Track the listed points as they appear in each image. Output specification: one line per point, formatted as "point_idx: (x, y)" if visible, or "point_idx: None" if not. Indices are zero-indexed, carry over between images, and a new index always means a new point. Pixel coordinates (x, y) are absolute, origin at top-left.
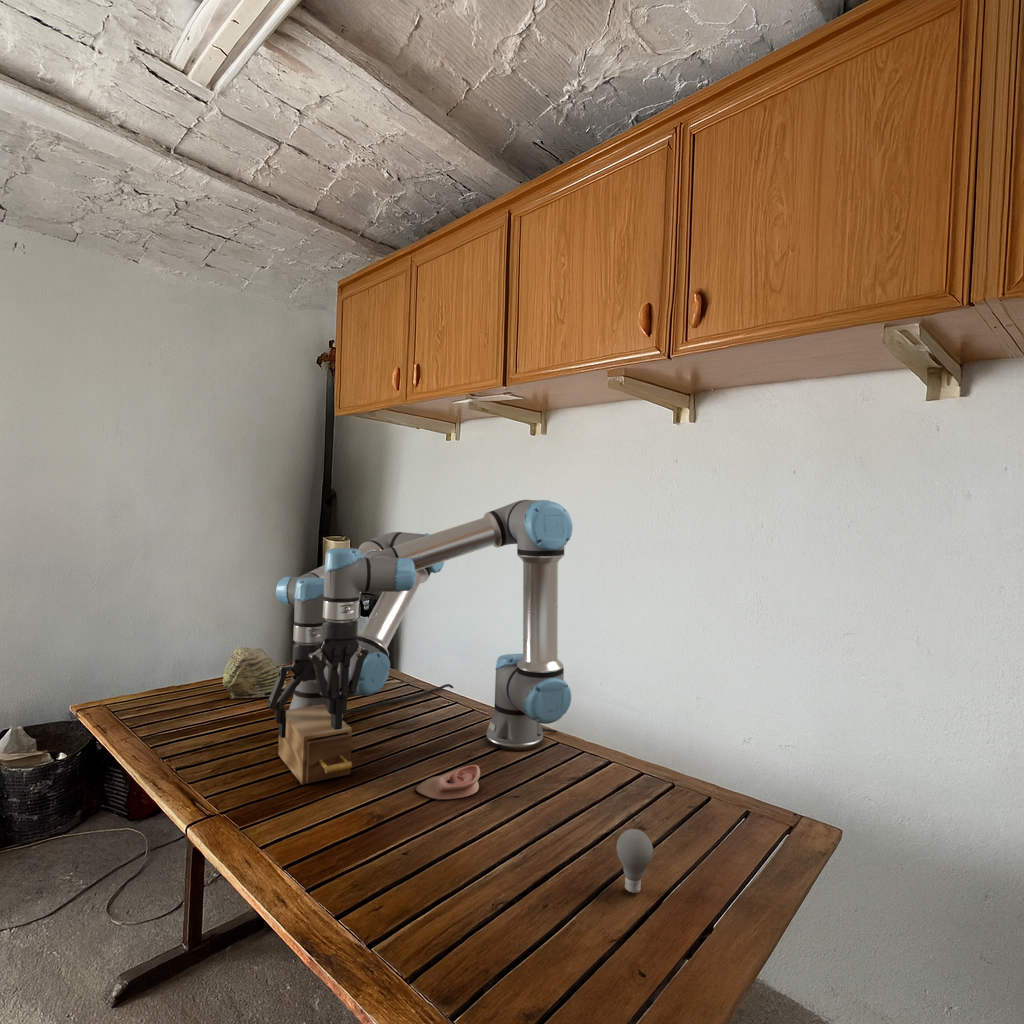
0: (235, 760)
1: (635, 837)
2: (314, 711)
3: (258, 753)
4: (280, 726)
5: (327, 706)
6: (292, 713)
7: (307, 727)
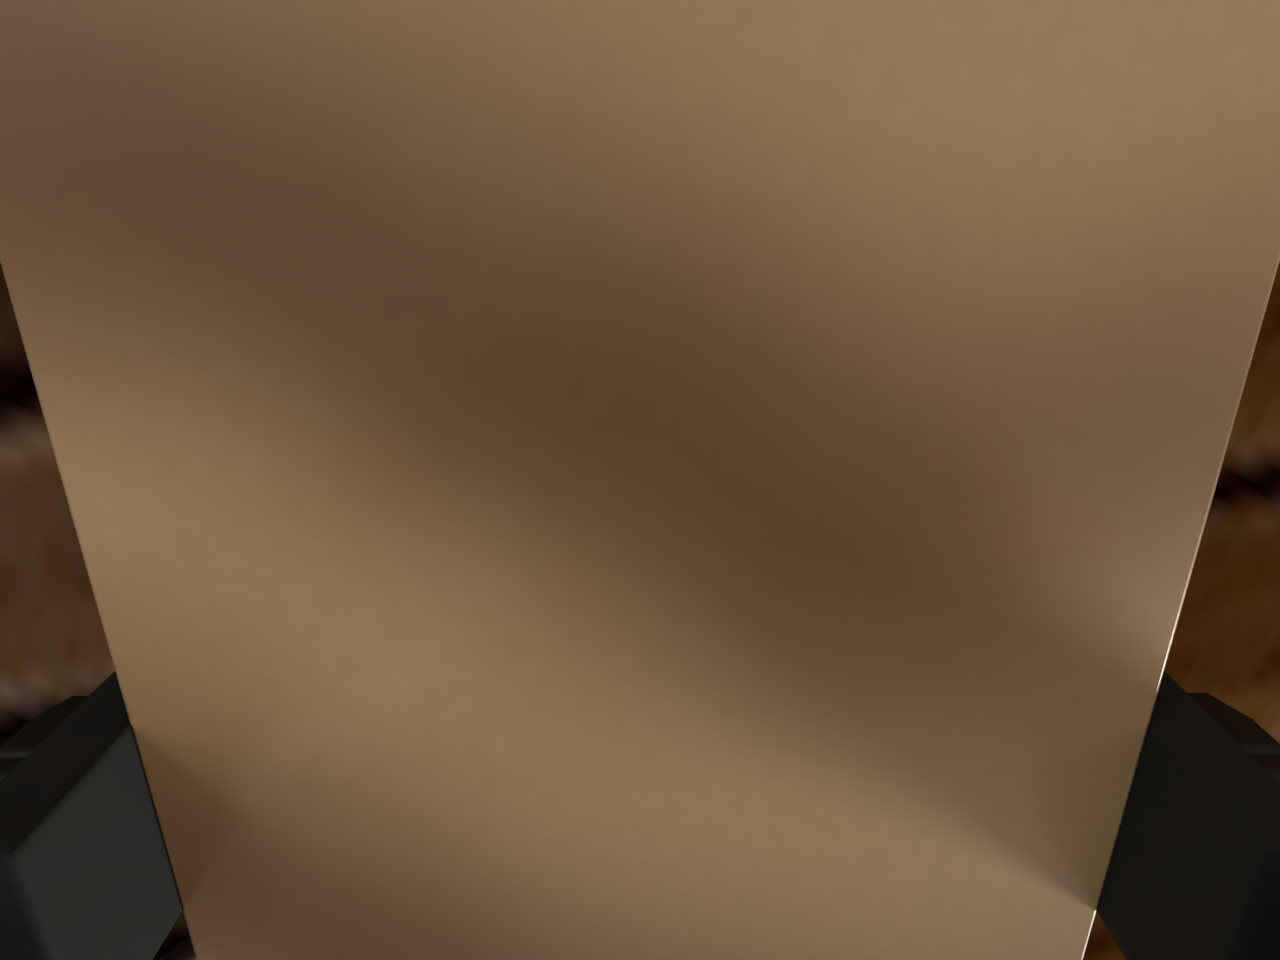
0: (1206, 666)
1: None
2: (486, 790)
3: None
4: None
5: (165, 906)
6: (923, 864)
7: None
